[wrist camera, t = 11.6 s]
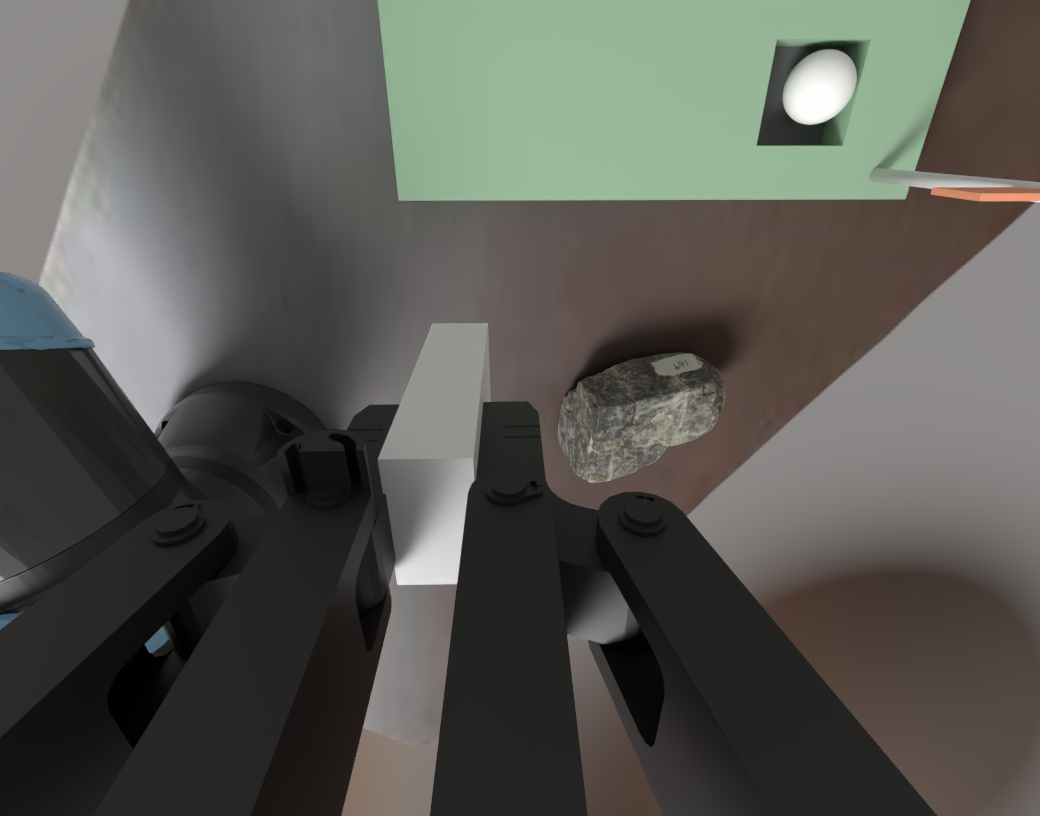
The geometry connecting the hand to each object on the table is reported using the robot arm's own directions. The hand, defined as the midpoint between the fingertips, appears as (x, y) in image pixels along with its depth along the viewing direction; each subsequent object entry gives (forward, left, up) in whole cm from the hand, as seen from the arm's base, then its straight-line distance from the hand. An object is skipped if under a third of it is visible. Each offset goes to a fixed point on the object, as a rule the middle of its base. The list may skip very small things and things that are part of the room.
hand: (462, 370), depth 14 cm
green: (+11, +8, -26) cm, 30 cm away
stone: (+11, -14, -27) cm, 32 cm away
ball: (+21, +8, -24) cm, 33 cm away
